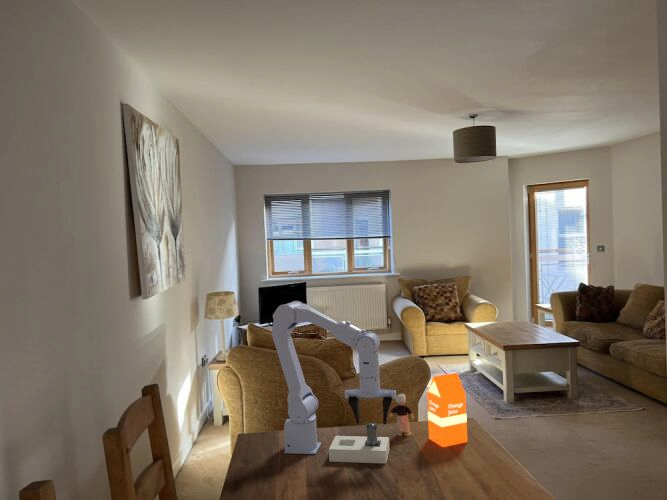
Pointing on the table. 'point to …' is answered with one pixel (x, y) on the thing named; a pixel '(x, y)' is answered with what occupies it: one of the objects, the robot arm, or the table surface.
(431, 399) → the orange juice
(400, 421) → the grandmother figurine
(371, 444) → the peg
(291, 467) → the table surface
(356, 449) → the hole block
